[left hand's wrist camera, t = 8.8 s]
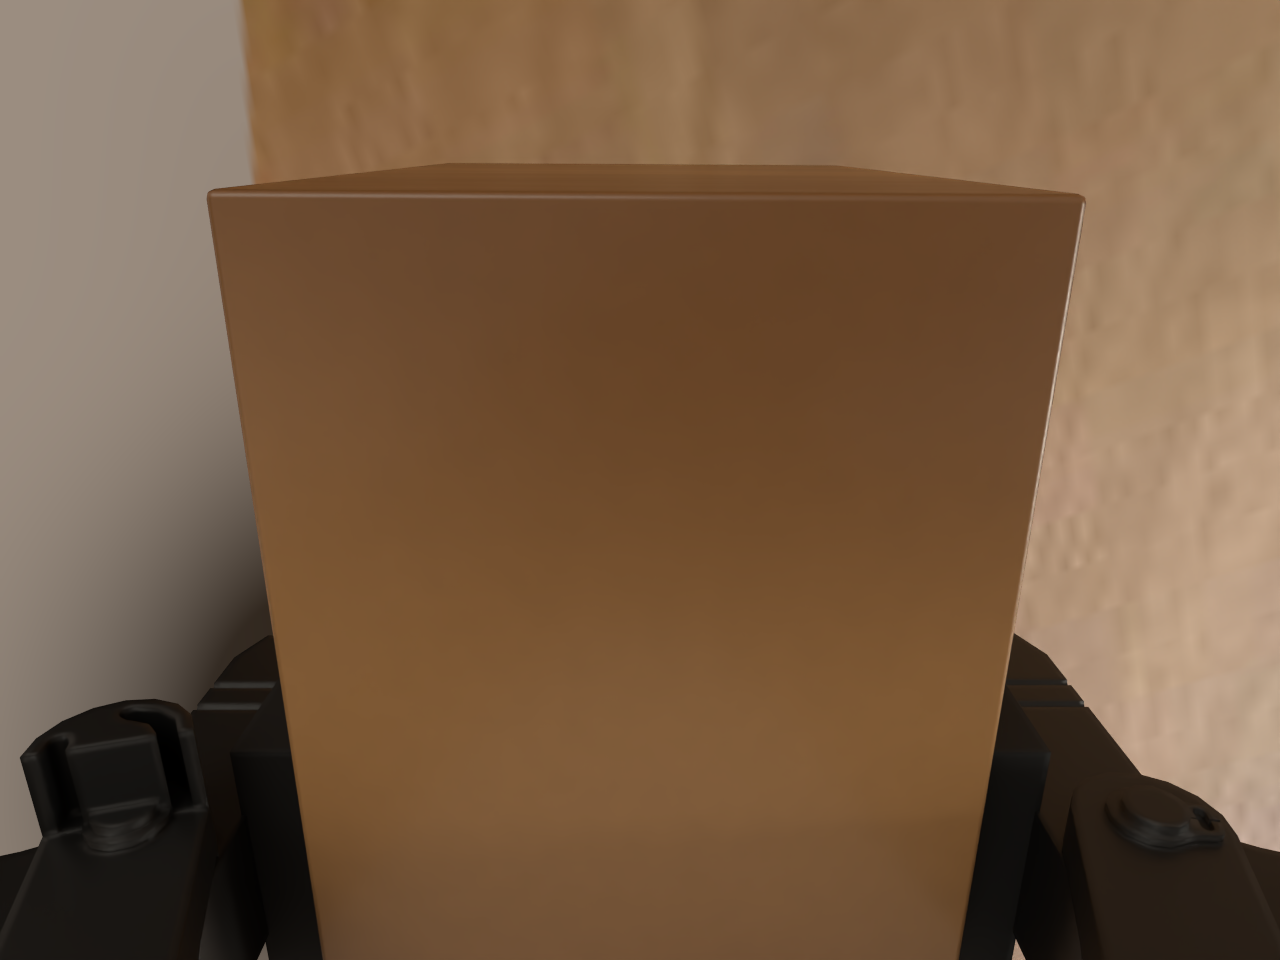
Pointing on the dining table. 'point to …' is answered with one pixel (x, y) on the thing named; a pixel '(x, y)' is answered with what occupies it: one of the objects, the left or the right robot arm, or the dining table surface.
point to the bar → (643, 544)
